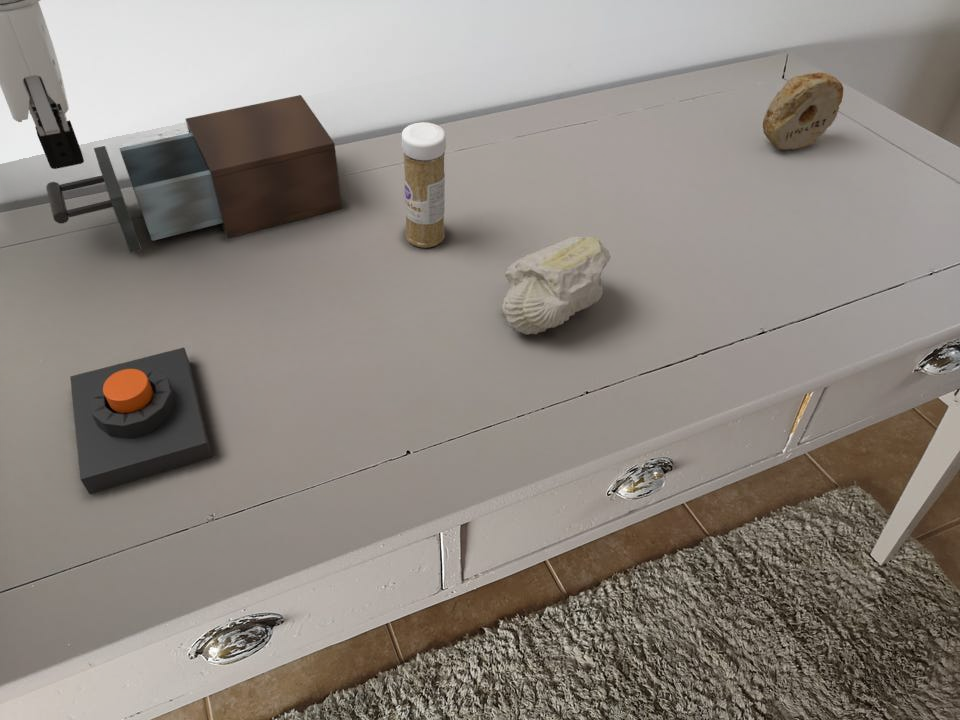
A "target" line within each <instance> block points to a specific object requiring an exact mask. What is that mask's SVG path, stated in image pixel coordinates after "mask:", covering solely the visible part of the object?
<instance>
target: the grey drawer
mask: <svg viewBox="0 0 960 720" xmlns="http://www.w3.org/2000/svg"><path fill="white" fill-rule="evenodd" d="M93 151H94V154H95V157H96V161H97V164H98V166H99V169H100V170H99V171H100V172H101V175H97V176H92V177H88V178H82V179H79V180H74V181H71V182H70V181H69V182H65V183H62V184H59V183H58V182H57V181H50V182H48V183H47V184H46V187H45V189H46V193H47V197H48V201H49V205H50V210H51V213H52V217H53V221H54V222H55V223H57V224H61V225H62V224H66V223H67V222H68V221H69V219H70V218H73V217H77V216H82V215H85V214H89V213H93V212H98V211H102V210H106V209H111V208H113V211H114V214H115V216H116V219H117V222H118V225H119V227H120V229H121V232H122V236H123V237H124V240H125V242H126V246H127V248H128V251H129V253H130V254H132V253H136V252H140V251H142V249H143V248H142V247H141V244H140V241H139V238H138V235H137V232H136V229H135V226H134V224H133V221H132V218H131V215H130V212H129V209H128V206H127V203H126V200H125V197H124V194H123V192H122V189H121V187H120V184H119V183H120V182H119V181H118V177H117V175H116V172H115V169H114V167H113V164H112V161H111V158H110V156H109V152H108V150H107V147H106V145H103V146H98V147H97V146H96V147H93ZM119 151H120V155H121V157H122V161H123V163H124V167H125V170H126V172H127V175H128V177H129V181H130V185H131V187H132V189H133V192H134V195H135V198H136V201H137V203H138V206H139V209H140V211H141V215H142V217H143V220H144V223H145V226H146V229H147V231H148V234H149V236H150V240H151V241H157V240H161V239H166V238H170V237H174V236H177V235H181V234H185V233H189V232H193V231H197V230H201V229H205V228H208V227H212V226H217V225H220V224H221V223H223V220H222V216H221V213H220V209H219V205H218V201H217V197H216V193H215V189H214V185H213V181H212V177H211V173H210V171H209V169H208V167H207V165H206V163H205V161H204V159H203V157H202V155H201V153H200V151H199V149H198V147H197V144H196V142H195V140H194V138H193V136H192V134H191V133H189V132H187V133H183V134H178V135H173V136H168V137H164V138H160V139H159V138H158V139H154V140H150V141H145V142H141V143H136V144H131V145H127V146H126V145H125V146H122V147H121V146H120V147H119ZM102 183H103V184H104V185H105V188H106V191H107V194H108V197H109V199H108V200H103V201H99V202H95V203H92V204H87V205H83V206H79V207H74V208H69V209H68V208H67V204H66V201H65V198H64V194H63V193H64V192H68V191H72V190H77V189H80V188H85V187H90V186H94V185H95V186H96V185H99V184H102ZM221 225H222V224H221Z"/></svg>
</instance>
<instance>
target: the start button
mask: <svg viewBox="0 0 960 720" xmlns="http://www.w3.org/2000/svg"><path fill="white" fill-rule="evenodd" d="M103 393H104V395H105V397H106V399H107V401H108V403H109V405H110V407H111V408H112V409H113V410H114V411H116V412H119V413H133V412H136V411H138V410H141V409H142V408H144V407H145V406H146V405H147V404H148V403H149V402H150V401H151V399H152V396H153V390H152V387H151V385H150V382H149V380H148V378H147V376H146V374H145V373H144V372H142V371H140V370H137V369H125V370H121V371H118V372H116V373H114V374H112V375H111V376H110V377H109V378H108V379H107V380H106V381H105V383H104V386H103Z"/></svg>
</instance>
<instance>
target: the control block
mask: <svg viewBox="0 0 960 720" xmlns="http://www.w3.org/2000/svg"><path fill="white" fill-rule="evenodd" d="M125 369H137V370H140V371H142V372H144V373H145V374H146V376H147V378H148V380H149V382H150V385H151V387H152V390H153V396H152V399H151V401H150V402H149V403H148V404H147V405H146V406H145V407H144V408H142V409H141V410H138V411H136V412H133V413H119V412H116V411H114V410H113V409H112V408H111V407H110V405H109V403H108V401H107V399H106V397H105V395H104V393H103V386H104V383H105V381H106V380H107V379H108V378H109V377H110V376H111V375H112V374H114V373H116V372H118V371H121V370H125ZM69 377H70V378H69V380H70V389H71V398H72V399H71V400H72V408H73V409H72V410H73V417H74V419H73V420H74V428H75V438H76V439H75V440H76V448H77V458H78V468H79V469H78V470H79V478H80V482H81V483H82V484H83V486H84V488H85V490H86V492H87V493H88V494H93V493H98V492H101V491H103V490H108V489H110V488H114V487H118V486H121V485H124V484H128V483H130V482H133V481H137V480H140V479H145V478H148V477H151V476H155V475H157V474H160V473H164V472H168V471H171V470H174V469H178V468H181V467H185V466H188V465H191V464H194V463H197V462H201V461H204V460H208V459H212V458H213V454H212V450H211V446H210V442H209V438H208V434H207V429H206V425H205V421H204V416H203V413H202V407H201V404H200V400H199V396H198V392H197V388H196V384H195V379H194V376H193V372H192V367H191V363H190V360H189V357H188V353H187V351H186V348H185V347H180V348H176V349H172V350H170V351H164V352H161V353H156V354H153V355H148V356H145V357H141V358H137V359H133V360H129V361H125V362H121V363H117V364H113V365H110V366H106V367H102V368H98V369H93V370H90V371H86V372H81V373H78V374H74V375H71V376H69Z"/></svg>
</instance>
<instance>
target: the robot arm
mask: <svg viewBox="0 0 960 720" xmlns="http://www.w3.org/2000/svg"><path fill="white" fill-rule="evenodd" d="M40 2H41V0H0V88H1V90H2V93H3V96H4V98H5V102H6V104H7V106H8V109H9V111H10V115H11V116H12V119H13V120H14V121H16V122H17V123H22V122H23V121H26V120H28V119H29V114H30V116H31V118H32V121H33V123H34V125H35V126H34V128H35V130H36V135H37V138H38V140H39V143H40V145H41V147H42V150H43V153H44V155H45V157H46V160H47V163H48V165H49V168H51V169H52V170H58V169H62V168H67V167H73V166H77V165H82V164H83V163H84V162H85V159H84V156H83V152H82V150H81V147H80V144H79V141H78V139H77V135H76V133H75V130H74V128H73V125H72V122H71V120H70V119H69V120H68V119H67V115H66V114H67V112H68V111H69V109H70V107H69V103H68V98H67V94H66V88H65V84H64V79H63V76H62V72H61V67H60V63H59V61H58V57H57V53H56V49H55V47H54V44H53V40H52V38H51V37H52V36H51V34H50V31H49V28H48V25H47V22H46V19H45V16H44V14H43V11H42V8H41V4H40Z"/></svg>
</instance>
